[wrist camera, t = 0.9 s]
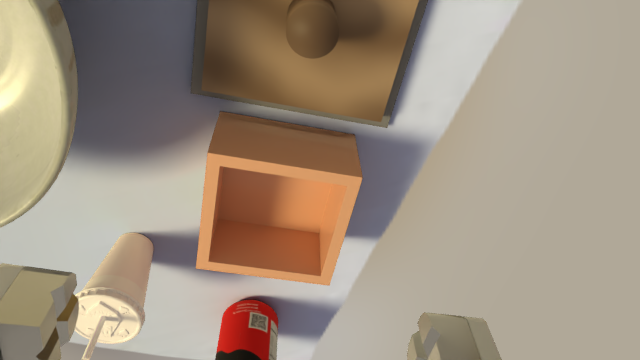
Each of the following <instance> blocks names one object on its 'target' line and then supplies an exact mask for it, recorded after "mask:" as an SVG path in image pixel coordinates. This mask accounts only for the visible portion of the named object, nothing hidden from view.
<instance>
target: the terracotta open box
mask: <svg viewBox="0 0 640 360" xmlns="http://www.w3.org/2000/svg"><path fill="white" fill-rule="evenodd" d="M362 178H363V177H362V171H361V166H360V161H359V155H358V150H357V144H356V139H355V135H354V134H348V133H343V132H337V131H331V130H325V129H319V128H314V127H308V126H302V125H296V124H291V123H285V122H279V121H273V120H268V119H262V118H256V117H250V116H244V115H239V114H233V113H227V112H221V111H220V113H219V117H218V120H217V123H216V127H215V130H214V133H213V136H212V140H211V143H210V146H209V150H208V153H207V163H206V173H205V183H204V193H203V203H202V212H201V222H200V232H199V242H198V252H197V262H196V269H204V270H212V271H220V272H227V273H235V274H243V275H251V276H259V277H266V278H274V279H282V280H290V281H298V282H305V283H313V284H321V285H330V282H331V278H332V275H333V272H334V269H335V266H336V262H337V259H338V256H339V253H340V249H341V246H342V243H343V240H344V236H345V233H346V230H347V227H348V224H349V220H350V217H351V214H352V211H353V207H354V204H355V201H356V198H357V195H358V191H359V188H360V185H361V182H362Z"/></svg>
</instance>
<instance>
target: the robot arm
mask: <svg viewBox="0 0 640 360" xmlns="http://www.w3.org/2000/svg"><path fill="white" fill-rule="evenodd" d="M76 286H77V280H76V274H74V273H72V272H65V271H57V270H50V269H43V268H36V267H29V266H18V265H11V264H4V263H2V264H1V265H0V360H60V359H61V352H60V347H61V346H62V345H64V344H65V343H67V342H68V341H70V338H71V336H72V334H73V332H74V330H75V326H76V322H77V319H78V312H79V301H78V298H77V297H76V296H75V295H74V294H73V292H74V290H75V288H76ZM418 327H419V331H418V332H417V333H415V334H413V335H412V337H411V339H410V342H409V345H408V353H407V360H502V359H501V357H500V354H499V352H498V350H497V347H496V345H495V342H494V340H493V338H492V335H491V333H490V330H489V328H488V325H487V323H486V321H485V320H484V319H482V318H472V317H461V316H454V315H444V314H435V313H423V314H422V315H421V316H420V318H419V321H418Z"/></svg>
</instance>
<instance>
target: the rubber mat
mask: <svg viewBox="0 0 640 360" xmlns="http://www.w3.org/2000/svg"><path fill="white" fill-rule="evenodd" d="M427 2H428V0H419V2H418V5H417V8H416V11H415V15H414V18H413V21H412V24H411V27H410V31H409V34H408V37H407V40H406V44H405V47H404V50H403V53H402V56H401V60H400V63H399V66H398V69H397V72H396V76H395V79H394V82H393V85H392V89H391V92H390V95H389V98H388V101H387V105H386V108H385V111H384V114H383V117H382V121H381V122H377V121H371V120H366V119H360V118H354V117H349V116H343V115H338V114H332V113H326V112H321V111H315V110H310V109H304V108H298V107H293V106H287V105H282V104H276V103H270V102H265V101H259V100H254V99H248V98H242V97H237V96H231V95H226V94H220V93H214V92H209V91H203V90H201V89H202V77H203V66H204V54H205V43H206V31H207V19H208V8H209V0H197V14H196V28H195V41H194V55H193V68H192V82H191V93H193V94H198V95H204V96H210V97H215V98H221V99H227V100H232V101H238V102H244V103H249V104H255V105H260V106H266V107H272V108H277V109H283V110H289V111H294V112H300V113H306V114H311V115H317V116H323V117H328V118H334V119H340V120H345V121H351V122H357V123H362V124H368V125H373V126H379V127H385V128H387V126H388V123H389V120H390V117H391V114H392V111H393V108H394V105H395V101H396V98H397V95H398V92H399V89H400V86H401V83H402V80H403V76H404V73H405V70H406V67H407V64H408V61H409V58H410V55H411V52H412V48H413V45H414V42H415V39H416V36H417V33H418V30H419V27H420V24H421V20H422V17H423V14H424V11H425V8H426V5H427Z"/></svg>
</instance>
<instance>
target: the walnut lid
mask: <svg viewBox="0 0 640 360" xmlns="http://www.w3.org/2000/svg"><path fill="white" fill-rule="evenodd" d="M418 2H419V0H209V8H208V19H207V31H206V43H205V54H204V66H203V77H202V89H201V90H203V91H209V92H214V93H220V94H226V95H231V96H237V97H242V98H248V99H254V100H259V101H265V102H270V103H276V104H282V105H287V106H293V107H298V108H304V109H310V110H315V111H321V112H326V113H332V114H338V115H343V116H349V117H354V118H360V119H366V120H371V121H377V122H381V121H382V117H383V114H384V111H385V108H386V105H387V101H388V98H389V95H390V92H391V89H392V85H393V82H394V79H395V76H396V72H397V69H398V66H399V63H400V60H401V56H402V53H403V50H404V47H405V44H406V40H407V37H408V34H409V31H410V27H411V24H412V21H413V18H414V15H415V11H416V8H417V5H418Z"/></svg>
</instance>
